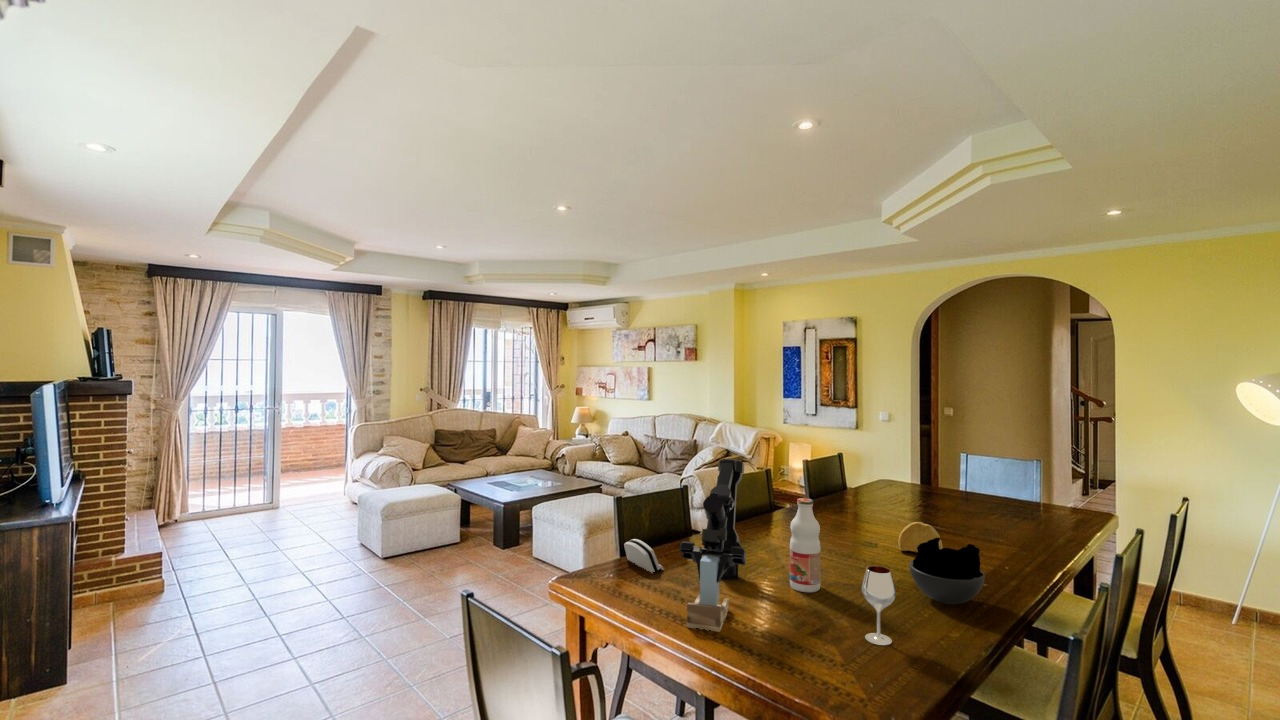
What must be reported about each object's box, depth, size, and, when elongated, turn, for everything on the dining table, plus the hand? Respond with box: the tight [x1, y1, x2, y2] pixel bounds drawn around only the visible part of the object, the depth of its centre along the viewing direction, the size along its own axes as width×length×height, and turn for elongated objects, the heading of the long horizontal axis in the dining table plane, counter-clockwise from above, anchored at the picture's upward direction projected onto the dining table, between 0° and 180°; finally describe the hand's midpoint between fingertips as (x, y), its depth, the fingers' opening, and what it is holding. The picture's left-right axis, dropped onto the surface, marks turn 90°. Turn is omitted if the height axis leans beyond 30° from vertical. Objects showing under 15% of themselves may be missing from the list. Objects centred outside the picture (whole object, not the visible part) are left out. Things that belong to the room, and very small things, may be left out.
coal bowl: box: [909, 537, 986, 605], centre depth 173 cm, size 20×20×19 cm
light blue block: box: [699, 555, 720, 606], centre depth 162 cm, size 5×4×12 cm
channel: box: [686, 594, 730, 633], centre depth 161 cm, size 15×9×6 cm, turn 162°
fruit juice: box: [789, 497, 821, 593], centre depth 184 cm, size 9×9×28 cm
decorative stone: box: [897, 521, 944, 554], centre depth 221 cm, size 13×15×15 cm
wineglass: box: [861, 565, 897, 646], centre depth 149 cm, size 8×8×18 cm
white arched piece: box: [623, 538, 664, 574], centre depth 203 cm, size 17×5×10 cm, turn 32°
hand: (708, 581), depth 161 cm, fingers closed on light blue block, 4 cm apart
